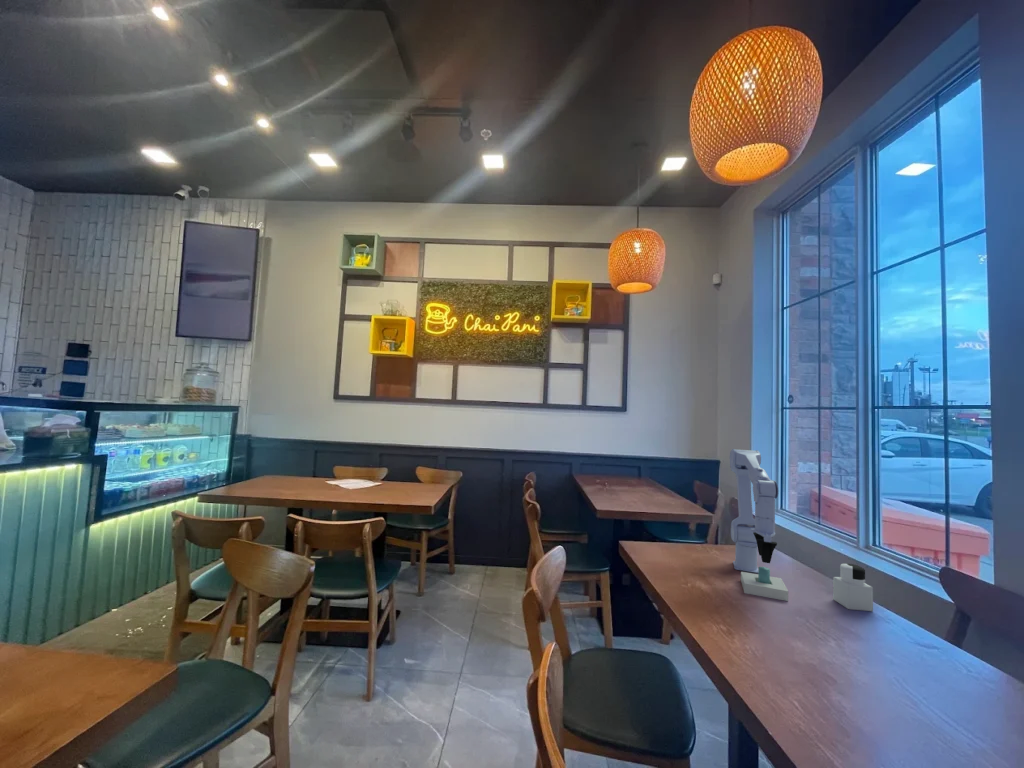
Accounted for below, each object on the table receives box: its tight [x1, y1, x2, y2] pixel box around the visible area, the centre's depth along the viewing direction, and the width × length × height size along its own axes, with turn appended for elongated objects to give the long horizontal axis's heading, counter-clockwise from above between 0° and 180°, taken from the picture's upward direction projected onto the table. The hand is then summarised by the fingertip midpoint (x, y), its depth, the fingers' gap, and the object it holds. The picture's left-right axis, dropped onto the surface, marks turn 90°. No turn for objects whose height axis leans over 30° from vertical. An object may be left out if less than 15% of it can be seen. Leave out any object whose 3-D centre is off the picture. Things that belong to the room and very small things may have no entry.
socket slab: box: [740, 571, 789, 602], centre depth 141 cm, size 12×12×3 cm
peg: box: [757, 566, 771, 584], centre depth 141 cm, size 3×3×7 cm
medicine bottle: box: [832, 562, 874, 612], centre depth 133 cm, size 7×7×12 cm
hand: (764, 558), depth 142 cm, fingers open, 7 cm apart
